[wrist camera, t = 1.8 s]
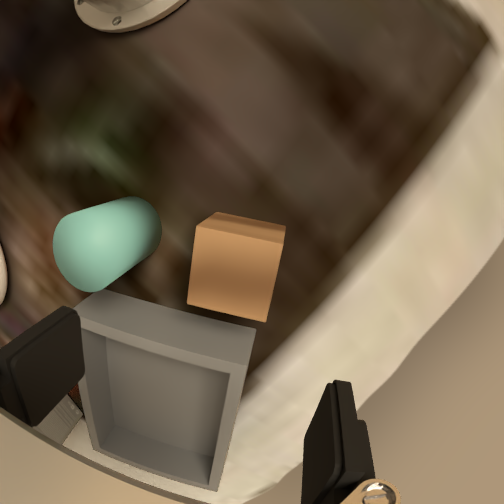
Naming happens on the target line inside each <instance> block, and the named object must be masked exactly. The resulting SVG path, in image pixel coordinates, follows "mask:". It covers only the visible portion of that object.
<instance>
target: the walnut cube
mask: <svg viewBox="0 0 504 504" xmlns="http://www.w3.org/2000/svg"><path fill="white" fill-rule="evenodd" d="M285 229H286V226H283V225H278V224H274V223H269V222H264V221H259V220H254V219H250V218H245V217H240V216H235V215H230V214H225V213H220V212H216V213H214V214H213V215H212V216H210V217H209V218H207V219H206V220H204V221H203V222H202V223H200V224H199V225H197V226H196V233H195V241H194V248H193V256H192V264H191V272H190V281H189V289H188V298H187V304H190V305H194V306H198V307H202V308H206V309H210V310H215V311H219V312H223V313H227V314H231V315H236V316H240V317H244V318H249V319H253V320H258V321H262V322H266V318H267V314H268V310H269V306H270V301H271V297H272V292H273V288H274V284H275V279H276V275H277V270H278V266H279V261H280V257H281V252H282V247H283V242H284V236H285Z"/></svg>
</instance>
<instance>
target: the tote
mask: <svg viewBox="0 0 504 504" xmlns="http://www.w3.org/2000/svg"><path fill="white" fill-rule="evenodd" d="M73 309H74V310H76V311H77V313H78V315H79V316H80V320H81V333H82V344H83V354H84V363H85V374H84V376H83V378H82V379H81V380H80V381H79V382H78V386H79V391H80V396H81V401H82V406H83V410H84V415H85V419H86V423H87V427H88V431H89V435H90V439H91V443H92V446H93V450H96V451H98V452H100V453H102V454H104V455H107V456H109V457H111V458H114V459H116V460H119V461H121V462H124V463H126V464H129V465H131V466H134V467H136V468H139V469H142V470H145V471H147V472H150V473H153V474H156V475H159V476H162V477H165V478H168V479H171V480H175V481H178V482H181V483H185V484H188V485H192V486H196V487H199V488H203V489H207V490H211V491H215V492H217V491H218V487H219V484H220V480H221V476H222V472H223V468H224V465H225V461H226V457H227V453H228V449H229V445H230V441H231V436H232V432H233V428H234V424H235V420H236V416H237V411H238V407H239V403H240V399H241V394H242V390H243V386H244V382H245V377H246V373H247V369H248V364H249V360H250V355H251V351H252V347H253V342H254V338H255V333H256V329H254V328H250V327H245V326H241V325H236V324H232V323H228V322H224V321H219V320H215V319H211V318H207V317H203V316H199V315H195V314H191V313H188V312H184V311H180V310H176V309H172V308H169V307H165V306H161V305H158V304H154V303H150V302H147V301H143V300H140V299H136V298H133V297H130V296H126V295H123V294H120V293H116V292H113V291H110V290H106V289H102V290H100V291H97V292H94V293H93V294H91V295H90V296H89V297H87V298H86V299H85V300H83V301H82V302H81V303H79V304H78V305H77V306H75V307H74V308H73Z"/></svg>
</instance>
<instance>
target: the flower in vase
mask: <svg viewBox="0 0 504 504" xmlns="http://www.w3.org/2000/svg"><path fill="white" fill-rule="evenodd" d="M6 290H7V268H6V262H5V258H4V254H3V251H2V248H1V245H0V305H1V304H2V302H3V300H4V297H5V294H6Z"/></svg>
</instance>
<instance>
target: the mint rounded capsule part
mask: <svg viewBox="0 0 504 504" xmlns="http://www.w3.org/2000/svg"><path fill="white" fill-rule="evenodd" d="M161 235H162V227H161V221H160V218H159V216H158V214H157V212H156V210H155V209H154V208H153V206H152V205H151V204H150V203H148V202H147V201H145V200H144V199H141V198H139V197H133V196H131V197H125V198H121V199H118V200H114V201H111V202H107V203H104V204H101V205H97V206H94V207H91V208H87V209H84V210H81V211H78V212H75V213H72V214H69V215H67V216H65V217H64V218H63V219H62V220H61V221H60V222H59V223H58V225H57V227H56V229H55V232H54V237H53V252H54V257H55V261H56V263H57V266H58V268H59V270H60V272H61V273H62V275H63V276H64V277H65V279H66V280H67V281H68V282H69V283H70V284H71V285H73V286H74V287H76V288H78V289H79V290H82V291H85V292H97V291H100V290H102V289H103V288H105V287H106V286H108V285H109V284H110V283H112V282H113V281H114V280H116V279H117V278H118V277H120V276H121V275H123V274H124V273H125V272H127V271H128V270H129V269H131V268H132V267H134V266H135V265H136V264H138V263H139V262H141V261H142V260H143V259H145V258H146V257H148V256H149V255H150V254H152V253H153V252H154V251H155V250H156V248H157V247H158V245H159V243H160V240H161Z"/></svg>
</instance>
